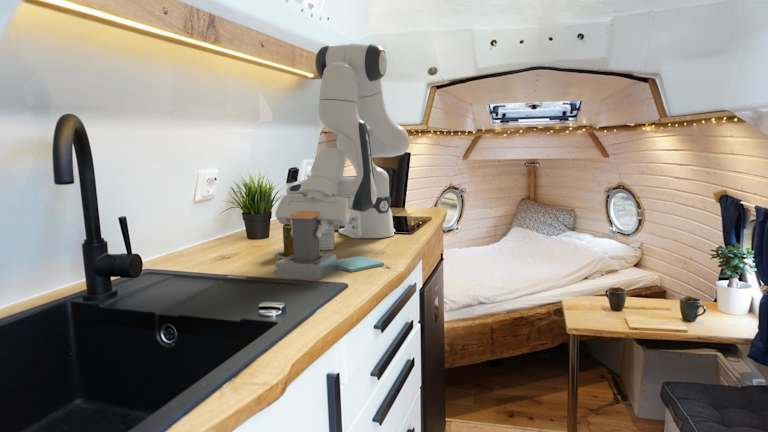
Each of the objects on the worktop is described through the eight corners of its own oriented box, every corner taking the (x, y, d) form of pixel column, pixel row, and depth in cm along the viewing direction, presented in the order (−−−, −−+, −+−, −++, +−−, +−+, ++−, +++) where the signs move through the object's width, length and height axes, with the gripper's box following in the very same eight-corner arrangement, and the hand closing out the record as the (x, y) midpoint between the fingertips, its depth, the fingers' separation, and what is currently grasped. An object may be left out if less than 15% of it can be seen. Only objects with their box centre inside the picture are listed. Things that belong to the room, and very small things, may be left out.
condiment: (307, 256, 153) (305, 216, 151) (278, 259, 150) (277, 218, 148) (302, 251, 160) (301, 213, 158) (275, 254, 157) (273, 215, 155)
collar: (297, 266, 141) (297, 252, 140) (336, 268, 137) (336, 254, 137) (276, 277, 130) (275, 262, 129) (318, 280, 127) (317, 264, 126)
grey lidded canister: (302, 258, 137) (300, 210, 135) (322, 259, 135) (320, 211, 133) (292, 264, 132) (289, 214, 130) (312, 265, 130) (310, 215, 128)
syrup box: (317, 246, 167) (315, 202, 164) (335, 246, 167) (334, 202, 165) (315, 250, 161) (314, 204, 159) (334, 249, 161) (333, 204, 159)
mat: (328, 264, 142) (328, 261, 142) (360, 258, 149) (360, 255, 149) (350, 272, 134) (350, 269, 134) (383, 265, 141) (383, 262, 140)
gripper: (358, 202, 139) (345, 245, 131) (290, 200, 145) (275, 241, 137) (351, 187, 134) (338, 231, 126) (282, 186, 140) (265, 228, 132)
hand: (304, 236), depth 132 cm, fingers closed on grey lidded canister, 5 cm apart
